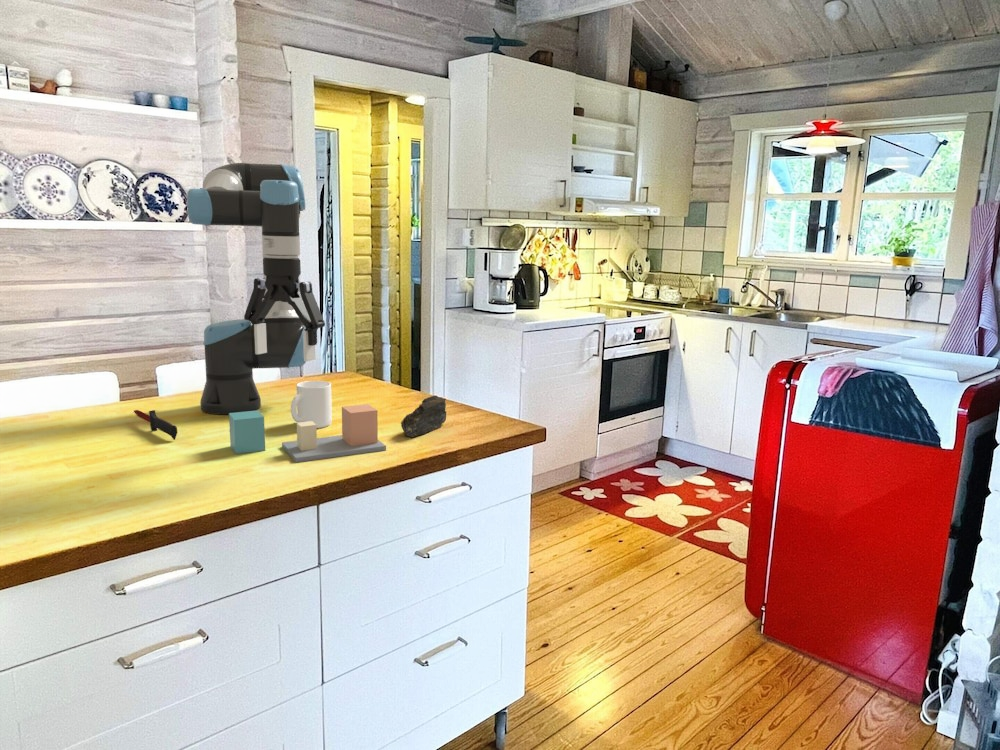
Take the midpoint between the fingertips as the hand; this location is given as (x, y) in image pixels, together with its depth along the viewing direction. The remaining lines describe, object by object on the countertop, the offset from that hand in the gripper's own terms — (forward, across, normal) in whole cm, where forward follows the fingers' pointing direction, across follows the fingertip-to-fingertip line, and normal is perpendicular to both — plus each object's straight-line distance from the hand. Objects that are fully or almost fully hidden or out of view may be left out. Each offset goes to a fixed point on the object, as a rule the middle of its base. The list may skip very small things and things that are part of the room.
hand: (284, 357), depth 153 cm
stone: (+21, +17, +29) cm, 40 cm away
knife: (+21, -37, -5) cm, 43 cm away
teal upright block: (+21, -8, -4) cm, 23 cm away
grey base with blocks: (+21, +8, +6) cm, 23 cm away
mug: (+21, -9, +17) cm, 29 cm away
